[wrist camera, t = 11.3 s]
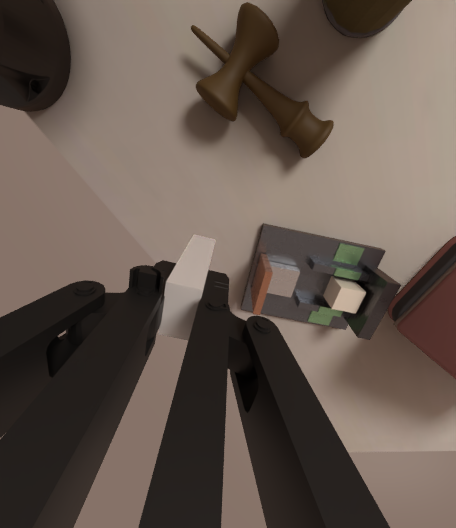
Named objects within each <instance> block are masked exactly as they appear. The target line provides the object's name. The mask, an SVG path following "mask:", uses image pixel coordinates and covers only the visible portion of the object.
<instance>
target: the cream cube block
mask: <svg viewBox="0 0 456 528" xmlns="http://www.w3.org/2000/svg"><path fill="white" fill-rule="evenodd" d="M365 294H366V291H365V290H364V289H363V288H362V287H360V286H359V285H358V284H357V283H356V282H355V281H354V280H350V279H345V278H340V277H335V276H331V278H330V281H329V283H328V285H327V288H326V290H325V292H324V295H323V297H324V298H325V300H326V301H327V303H328V304H329V306H330V307H331V309H335V310H340V311H345V312H350V313H355V314H356V312H357V310H358V308H359V306H360V304H361V302H362V300H363V298H364V296H365Z"/></svg>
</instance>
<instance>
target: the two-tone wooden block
mask: <svg viewBox="0 0 456 528" xmlns="http://www.w3.org/2000/svg"><path fill="white" fill-rule="evenodd" d="M299 274H300V271H299V269H298V267H295V266H290V265H285V264H280V263H276V262H271V261H269V259H268V256H267V254H262V253H261V255H260V258H259V262H258V265H257V269H256V273H255V276H254V280H253V283H252V287H251V298H252V308H253V314H257V315H260V313H261V310H262V306H263V303H264V300H265V297H266V294H267V293H270V294H275V295H280V296H286V297H291V296H292V293H293V291H294V288H295V285H296V282H297V280H298V277H299Z"/></svg>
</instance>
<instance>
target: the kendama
mask: <svg viewBox="0 0 456 528" xmlns="http://www.w3.org/2000/svg"><path fill="white" fill-rule="evenodd" d="M191 30H192V32H193V33H194V34H195V35H196V36H197V37H198V38H199V39H200V40H201V41H202V42H203V43H204V44H205V45H206V46H207V47H208V48H209V49H210V50H211V51H212V52H213V53H214V54H215V55H216V56H217V57H218V58H219V59H220V60H221V61H222V62H223V63H224V64H225V65H224V66H223V67H222V68H221V70H219V71H218V72H217V73H215V74H213V75H211V76H209V77H207V78H204V79H202V80H200V81H199V82H197V84H196V90H197V92H198V93H199V94H200V96H201V97H202V98H203V99H204V100H205V101H206V102H207V103H208V104H209V105H210V106H211V107H212V108H213V109H214V110H215V111H216V112H218V113H219V114H220V115H222V116H223V117H225V118H226V119H228V120H230V121H235V120H236V119H237V110H238V95H239V90H240V87H241V84H242V82H243V83H244V84H245V85H246V86H247V87H248V88H249V89H250V90H251V91H252V92H253V93H254V94H255V95H256V97H257V98H258V99H259V100H260V101H261V102H262V103H263V105H264V106H265V107H266V108H267V109H268V111H269V112H270V113H271V114H272V116H273V117H274V118H275V120H276V121H277V123H278V124H279V126H280V131H281V132H280V135H281V136H282V137H289V138H291V139H292V140H293V141H294V142H295V143H296V144H297V146H298V147H299V150H300V156H301V157H302V158H307V157H309V156H311V155H312V154H313V153H314V152H315V151H316V150H318V149H319V148H320V146H321V145H322V144H323V143H324V142H325V141H326V139H327V138H328V136H329V135H330V133H331V131H332V129H333V123H334V122H333V121H332V120H328V121H321V120H319V119H318V118H316V117H315V116H314V115H313V114H312V113H311V111H310V109H309V103H308V101H303V102H297V101H294V100H292V99H290V98H288V97H286V96H285V95H283V94H281V93H280V92H278V91H277V90H275V89H274V88H272V87H271V86H269V85H268V84H267V83H265V82H264V81H262V80H261V79H260V78H258V77H257V76H256V75H254V74H253V73H252V72H251V71H250V70H251V69H252V68H253V67H254V66H255V65H256V64H257V63H259V62H260V61H262V60H264V59H266V58H267V57H269V56H271V55H272V54H273V53H274V52H275V51H276V50H277V49H278V46H279V37H278V33H277V30H276V28H275V27H274V25H273V23H272V21H271V20H270V19H269V18H268V16H267V15H266V14H265V13H264V12H263V11H262V10H261V9H259V8H258V7H257V6H255V5H253V4H250V3H248V2H247V3H244V4H242V5H241V7H240V10H239V13H238V19H237V29H236V38H235V43H234V47H233V49H232V52H231V54H229V53H227V52H226V51H225V50H224V49H223V48H222V47H220V46H219V45H218V44H217V43H216V42H214V41H213V40H212V39H211V38H210V37H209V36H207V35H206V34H205V33H204V32H202V31H201V30H200V29H199V28H197V27H196V26H194V25H192V26H191Z"/></svg>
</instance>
